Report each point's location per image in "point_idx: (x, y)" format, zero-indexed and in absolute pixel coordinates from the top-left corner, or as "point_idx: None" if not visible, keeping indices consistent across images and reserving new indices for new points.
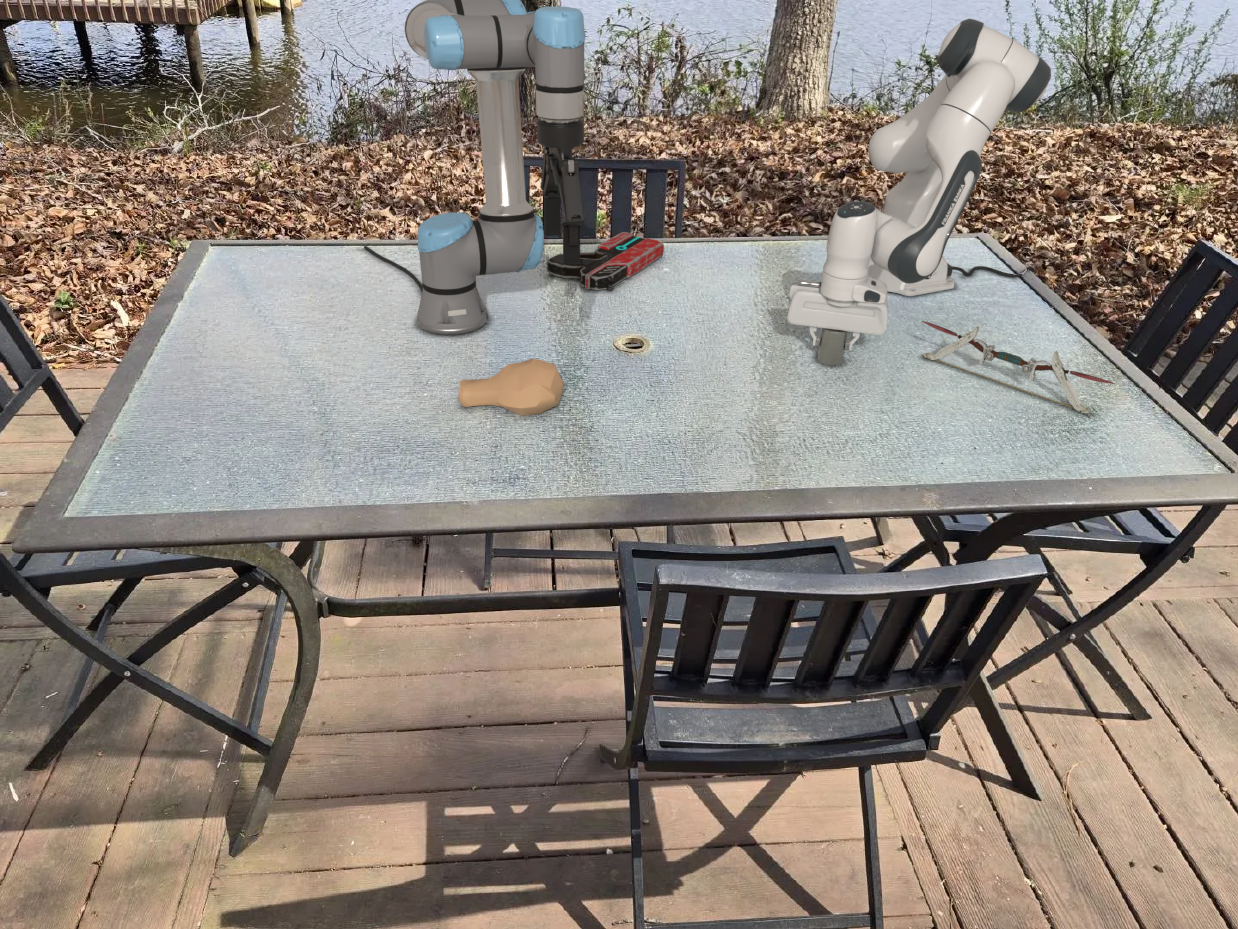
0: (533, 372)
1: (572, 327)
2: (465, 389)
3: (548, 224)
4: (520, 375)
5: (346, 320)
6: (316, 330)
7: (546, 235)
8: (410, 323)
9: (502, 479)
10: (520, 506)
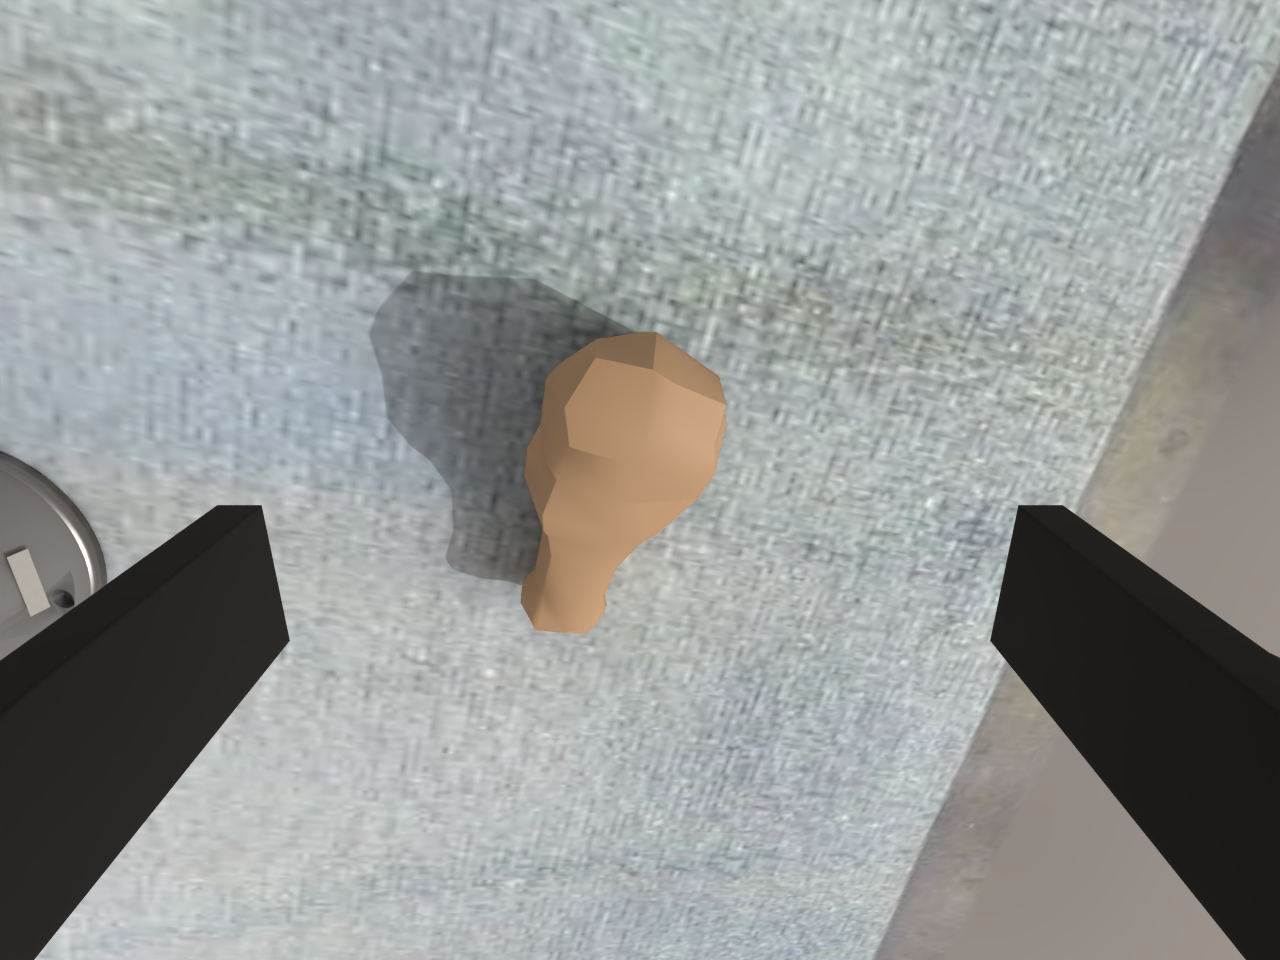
0: (665, 460)
1: (10, 120)
2: (587, 620)
3: (222, 687)
4: (649, 497)
5: None
6: None
7: (284, 637)
8: None
9: (965, 558)
10: None
